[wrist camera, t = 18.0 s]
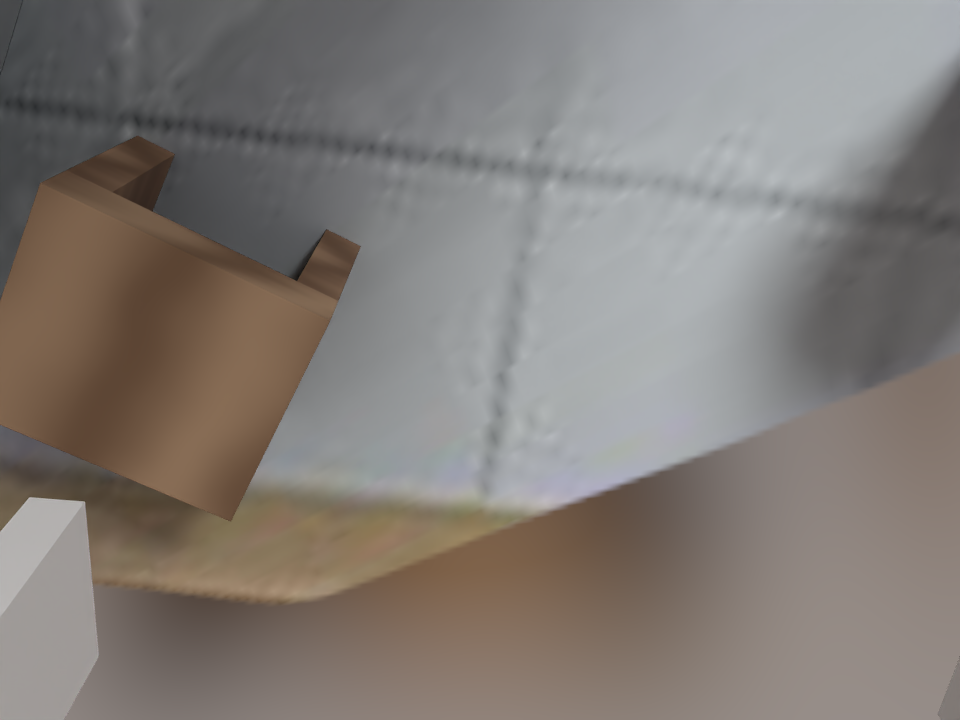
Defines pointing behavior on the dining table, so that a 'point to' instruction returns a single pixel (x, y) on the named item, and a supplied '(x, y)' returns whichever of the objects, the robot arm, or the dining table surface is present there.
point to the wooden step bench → (154, 333)
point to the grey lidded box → (7, 25)
